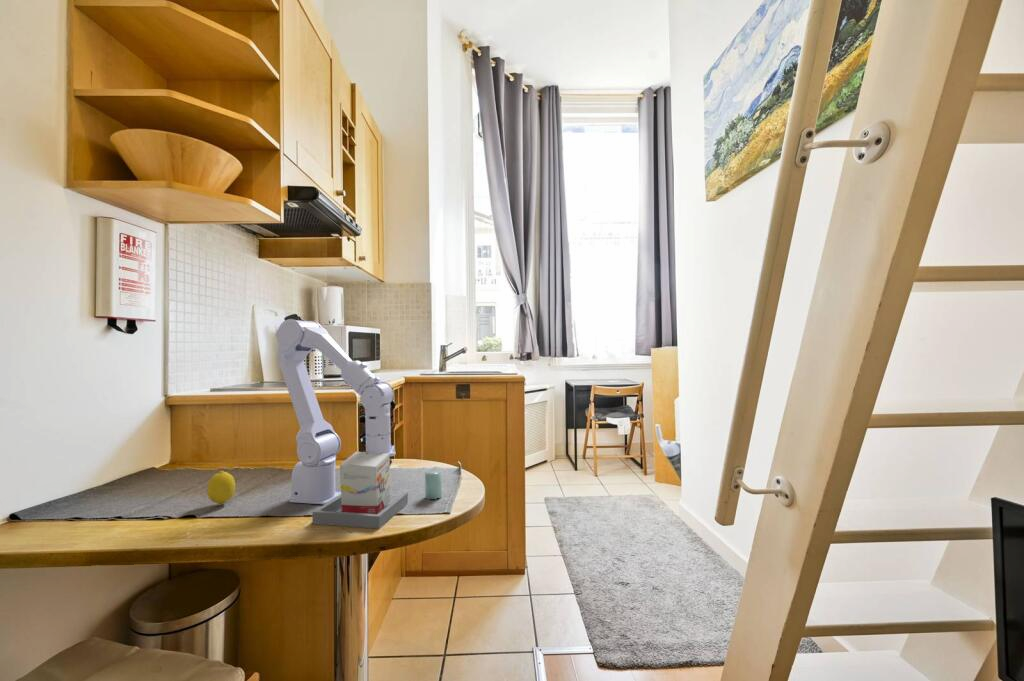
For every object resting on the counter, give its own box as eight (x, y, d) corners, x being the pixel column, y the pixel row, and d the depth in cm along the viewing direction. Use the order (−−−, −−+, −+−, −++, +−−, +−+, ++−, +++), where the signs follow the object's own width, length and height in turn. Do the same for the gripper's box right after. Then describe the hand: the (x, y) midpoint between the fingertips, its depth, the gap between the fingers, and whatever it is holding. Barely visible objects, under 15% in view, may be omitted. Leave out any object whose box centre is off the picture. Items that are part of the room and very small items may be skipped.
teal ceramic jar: (423, 499, 112) (422, 474, 113) (428, 494, 116) (427, 470, 116) (439, 499, 112) (438, 475, 112) (443, 494, 116) (443, 470, 116)
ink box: (378, 517, 101) (375, 466, 99) (340, 515, 102) (337, 464, 100) (392, 499, 109) (390, 451, 108) (357, 497, 110) (355, 450, 109)
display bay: (312, 523, 97) (312, 511, 97) (348, 499, 112) (349, 489, 112) (379, 528, 95) (379, 516, 95) (407, 503, 109) (407, 493, 109)
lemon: (235, 506, 107) (236, 471, 107) (207, 511, 104) (207, 475, 104) (234, 499, 112) (234, 466, 112) (207, 504, 109) (207, 470, 109)
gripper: (380, 440, 102) (381, 501, 102) (405, 428, 117) (406, 482, 117) (351, 440, 103) (352, 500, 103) (379, 428, 118) (380, 481, 118)
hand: (379, 490), depth 110 cm, fingers closed, pressing on ink box
